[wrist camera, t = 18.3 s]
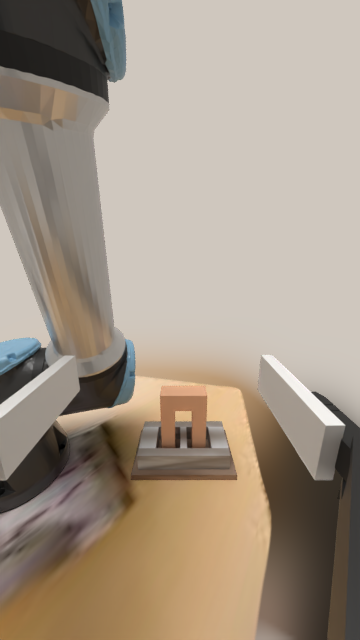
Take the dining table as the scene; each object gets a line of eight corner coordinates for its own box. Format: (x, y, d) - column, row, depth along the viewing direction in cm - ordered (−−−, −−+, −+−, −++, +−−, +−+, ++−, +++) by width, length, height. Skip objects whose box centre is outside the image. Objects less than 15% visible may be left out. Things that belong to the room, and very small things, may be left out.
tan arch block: (205, 456, 38) (207, 395, 35) (162, 456, 38) (160, 395, 35) (203, 443, 41) (205, 385, 38) (163, 443, 41) (161, 386, 38)
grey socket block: (236, 479, 35) (238, 460, 34) (131, 479, 35) (129, 461, 34) (224, 433, 45) (225, 418, 44) (142, 433, 45) (141, 418, 44)
